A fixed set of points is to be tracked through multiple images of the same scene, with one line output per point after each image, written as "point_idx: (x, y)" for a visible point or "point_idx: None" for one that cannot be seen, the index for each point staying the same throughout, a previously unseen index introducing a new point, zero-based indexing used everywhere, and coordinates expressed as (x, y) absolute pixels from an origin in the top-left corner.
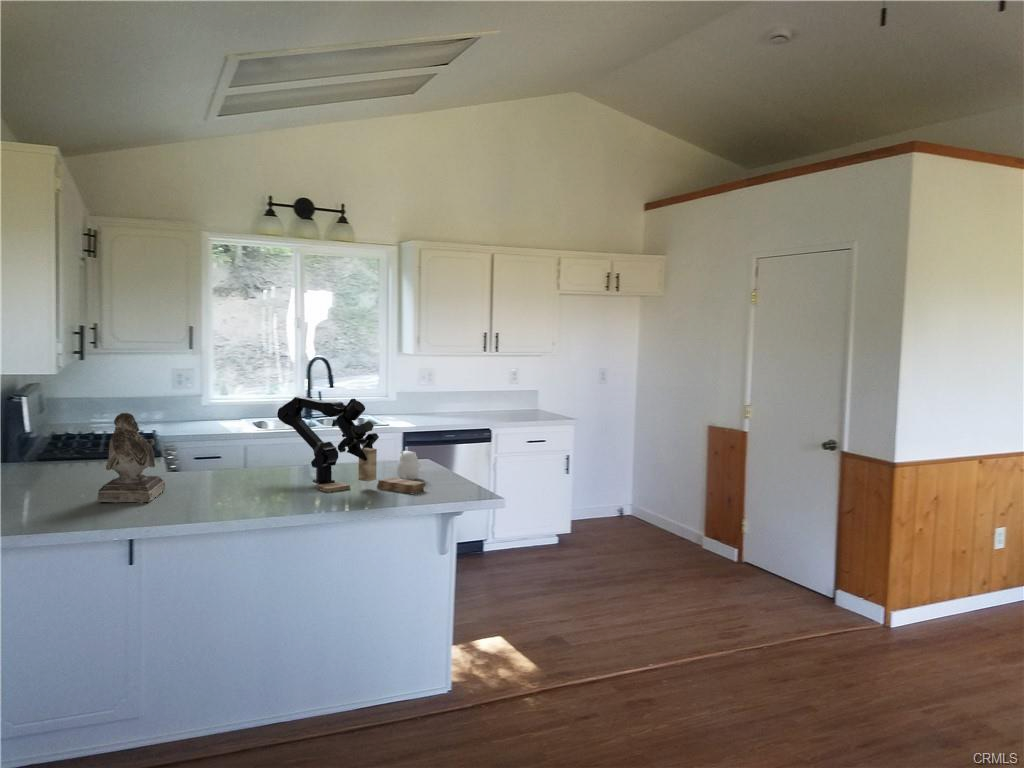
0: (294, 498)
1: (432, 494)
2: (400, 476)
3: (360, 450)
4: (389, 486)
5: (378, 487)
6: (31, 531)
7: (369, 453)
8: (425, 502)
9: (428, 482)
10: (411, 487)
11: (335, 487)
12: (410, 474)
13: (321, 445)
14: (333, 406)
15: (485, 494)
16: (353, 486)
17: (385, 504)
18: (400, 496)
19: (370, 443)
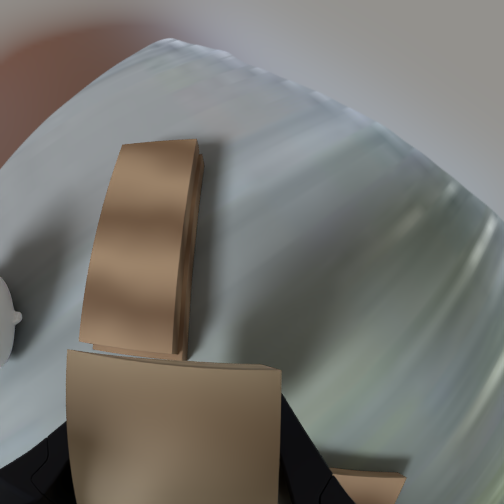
0: (496, 456)
1: (174, 123)
2: (12, 340)
3: (343, 497)
4: (187, 275)
5: (185, 351)
6: None
7: (265, 368)
8: (282, 94)
9: (17, 236)
10: (195, 156)
11: (367, 476)
12: (4, 288)
13: None
14: None
15: (124, 63)
16: None
17: (388, 164)
18: (264, 180)
19: (6, 499)
